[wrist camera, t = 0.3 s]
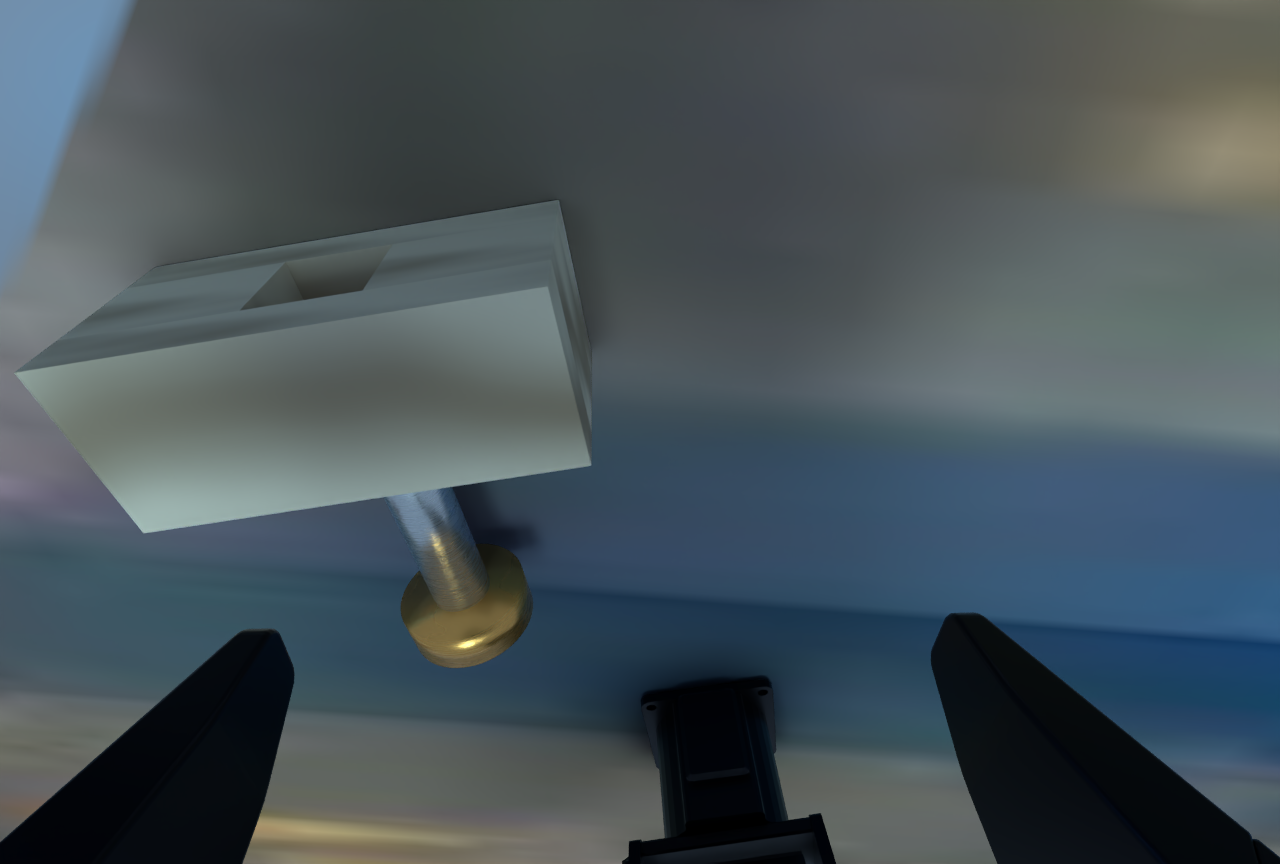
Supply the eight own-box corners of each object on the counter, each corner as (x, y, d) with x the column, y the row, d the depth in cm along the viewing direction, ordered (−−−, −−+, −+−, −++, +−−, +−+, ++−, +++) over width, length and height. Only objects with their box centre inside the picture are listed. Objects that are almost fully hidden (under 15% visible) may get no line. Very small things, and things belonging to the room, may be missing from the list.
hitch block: (591, 351, 22) (591, 465, 18) (238, 406, 23) (143, 533, 18) (559, 199, 19) (547, 286, 15) (155, 267, 20) (14, 372, 15)
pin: (536, 563, 27) (528, 658, 23) (428, 579, 27) (403, 676, 23) (445, 296, 20) (414, 373, 17) (301, 320, 20) (239, 401, 17)
